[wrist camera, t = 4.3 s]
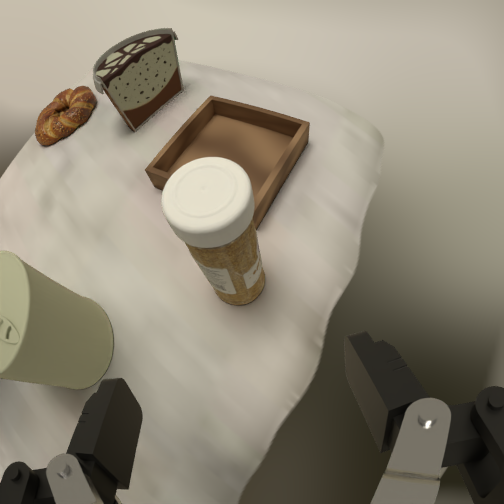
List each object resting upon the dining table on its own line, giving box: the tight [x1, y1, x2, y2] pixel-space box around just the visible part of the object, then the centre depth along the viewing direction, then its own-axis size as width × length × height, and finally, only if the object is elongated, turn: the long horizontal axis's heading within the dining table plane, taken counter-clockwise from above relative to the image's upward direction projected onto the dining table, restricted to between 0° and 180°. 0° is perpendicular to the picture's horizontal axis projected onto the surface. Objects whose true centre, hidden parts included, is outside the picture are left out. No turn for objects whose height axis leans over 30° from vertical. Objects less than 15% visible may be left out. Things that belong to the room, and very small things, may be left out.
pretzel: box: [35, 86, 96, 145], centre depth 38 cm, size 12×11×4 cm
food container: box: [93, 28, 184, 132], centre depth 34 cm, size 12×6×10 cm, turn 144°
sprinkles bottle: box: [161, 157, 265, 305], centre depth 21 cm, size 5×5×13 cm
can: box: [0, 251, 113, 390], centre depth 20 cm, size 9×9×12 cm
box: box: [145, 96, 310, 230], centre depth 31 cm, size 12×12×3 cm
